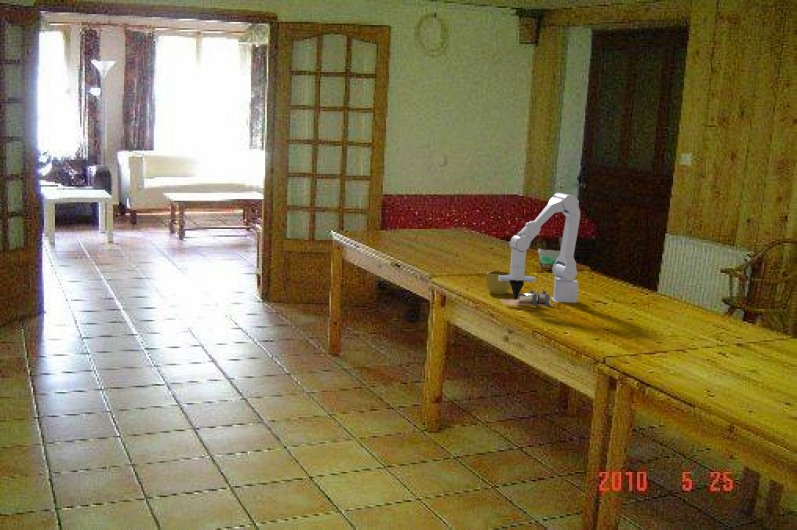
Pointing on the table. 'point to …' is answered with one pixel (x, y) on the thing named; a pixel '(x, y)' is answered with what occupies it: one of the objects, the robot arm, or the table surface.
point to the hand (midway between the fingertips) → (515, 299)
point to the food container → (547, 258)
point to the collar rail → (534, 298)
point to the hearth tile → (515, 302)
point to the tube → (528, 298)
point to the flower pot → (497, 282)
